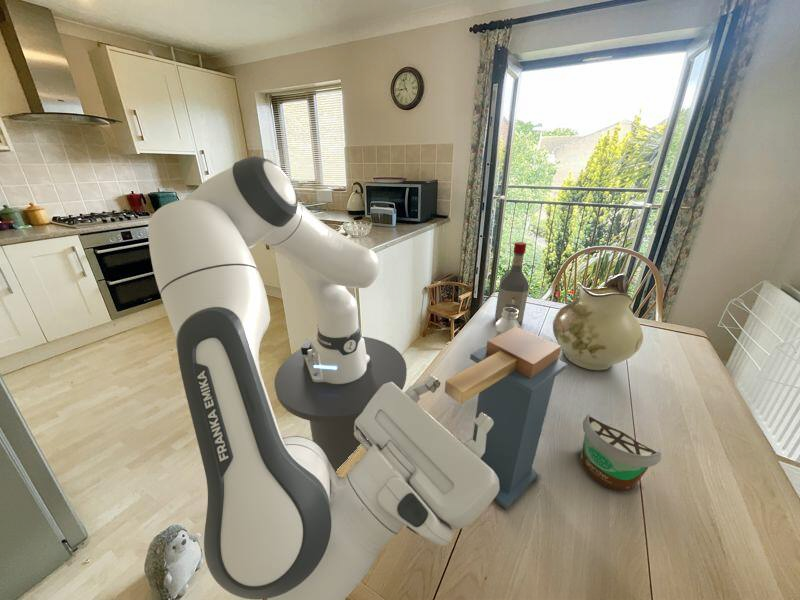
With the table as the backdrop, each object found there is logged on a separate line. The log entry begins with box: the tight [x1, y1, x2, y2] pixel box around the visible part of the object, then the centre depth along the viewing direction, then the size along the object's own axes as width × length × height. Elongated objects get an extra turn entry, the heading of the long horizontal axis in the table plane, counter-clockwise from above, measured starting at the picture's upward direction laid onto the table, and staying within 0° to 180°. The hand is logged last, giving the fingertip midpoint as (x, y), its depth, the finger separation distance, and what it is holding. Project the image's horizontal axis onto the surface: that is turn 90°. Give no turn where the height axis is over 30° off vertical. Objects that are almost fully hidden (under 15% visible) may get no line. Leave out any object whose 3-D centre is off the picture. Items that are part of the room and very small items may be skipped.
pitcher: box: [552, 273, 644, 371], centre depth 90 cm, size 22×24×25 cm
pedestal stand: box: [469, 345, 568, 510], centre depth 55 cm, size 11×10×26 cm
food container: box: [580, 412, 663, 492], centre depth 57 cm, size 12×6×10 cm, turn 40°
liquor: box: [494, 241, 530, 328], centre depth 109 cm, size 9×9×30 cm
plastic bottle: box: [493, 307, 521, 337], centre depth 83 cm, size 6×7×20 cm
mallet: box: [444, 326, 562, 405], centre depth 46 cm, size 8×20×2 cm, turn 128°
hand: (460, 396), depth 42 cm, fingers open, 8 cm apart
